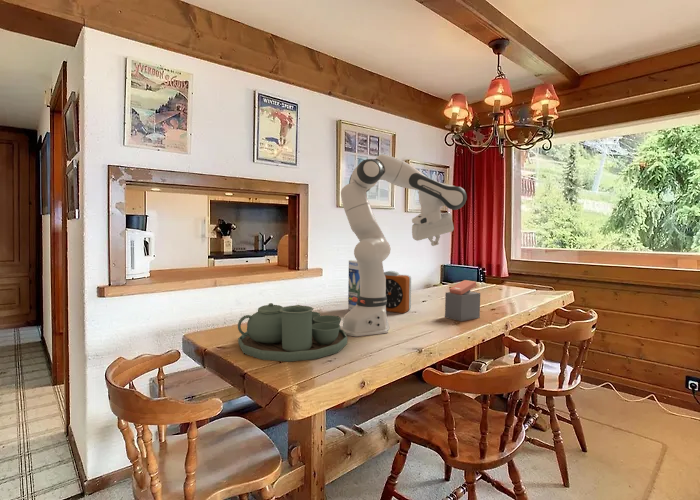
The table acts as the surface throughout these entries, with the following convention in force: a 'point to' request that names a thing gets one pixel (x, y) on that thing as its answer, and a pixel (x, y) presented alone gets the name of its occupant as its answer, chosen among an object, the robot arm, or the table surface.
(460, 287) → the rocker
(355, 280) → the string lights box
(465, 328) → the table surface
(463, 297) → the switch box
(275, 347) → the tea set
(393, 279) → the alarm clock
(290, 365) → the table surface
